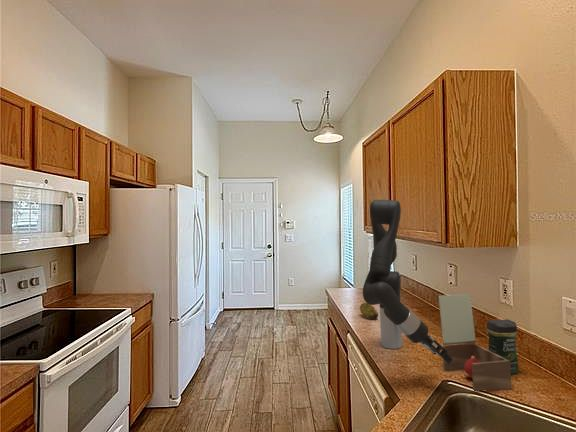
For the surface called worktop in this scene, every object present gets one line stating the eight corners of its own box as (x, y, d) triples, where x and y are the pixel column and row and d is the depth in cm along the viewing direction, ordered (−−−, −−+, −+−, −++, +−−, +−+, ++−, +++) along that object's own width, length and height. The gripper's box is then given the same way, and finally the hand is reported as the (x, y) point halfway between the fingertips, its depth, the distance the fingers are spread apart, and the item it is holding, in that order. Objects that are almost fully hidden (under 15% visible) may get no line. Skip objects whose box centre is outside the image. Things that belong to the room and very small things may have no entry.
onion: (477, 375, 129) (476, 352, 129) (486, 382, 123) (486, 359, 123) (461, 375, 129) (460, 353, 129) (470, 383, 123) (469, 359, 123)
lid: (444, 345, 133) (443, 344, 134) (475, 342, 135) (474, 342, 136) (439, 296, 136) (438, 295, 137) (470, 294, 138) (468, 294, 138)
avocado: (365, 321, 203) (364, 306, 203) (358, 315, 215) (358, 301, 216) (379, 320, 203) (379, 306, 203) (372, 314, 216) (372, 301, 216)
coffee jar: (498, 376, 128) (496, 323, 128) (483, 367, 135) (482, 317, 136) (523, 374, 129) (521, 322, 129) (508, 365, 136) (506, 316, 137)
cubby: (443, 370, 134) (442, 345, 134) (475, 367, 136) (474, 343, 136) (475, 392, 116) (473, 364, 116) (511, 388, 118) (510, 361, 118)
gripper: (428, 322, 117) (462, 355, 118) (407, 312, 131) (438, 341, 132) (413, 340, 116) (448, 373, 117) (394, 328, 130) (425, 357, 131)
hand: (443, 356), depth 125 cm, fingers open, 8 cm apart
